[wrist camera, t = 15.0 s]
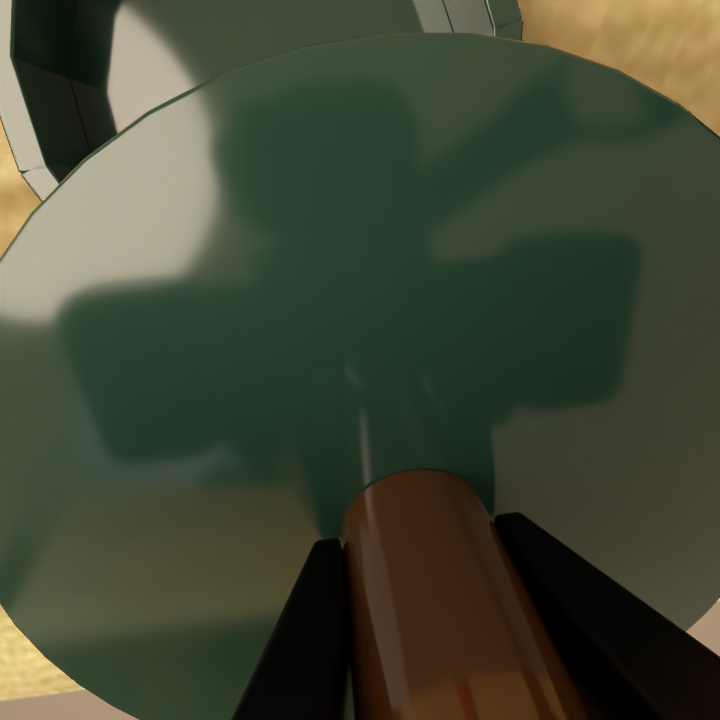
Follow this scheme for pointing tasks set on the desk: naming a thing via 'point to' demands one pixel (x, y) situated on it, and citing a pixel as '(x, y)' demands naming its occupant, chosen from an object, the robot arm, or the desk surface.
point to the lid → (363, 373)
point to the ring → (171, 58)
